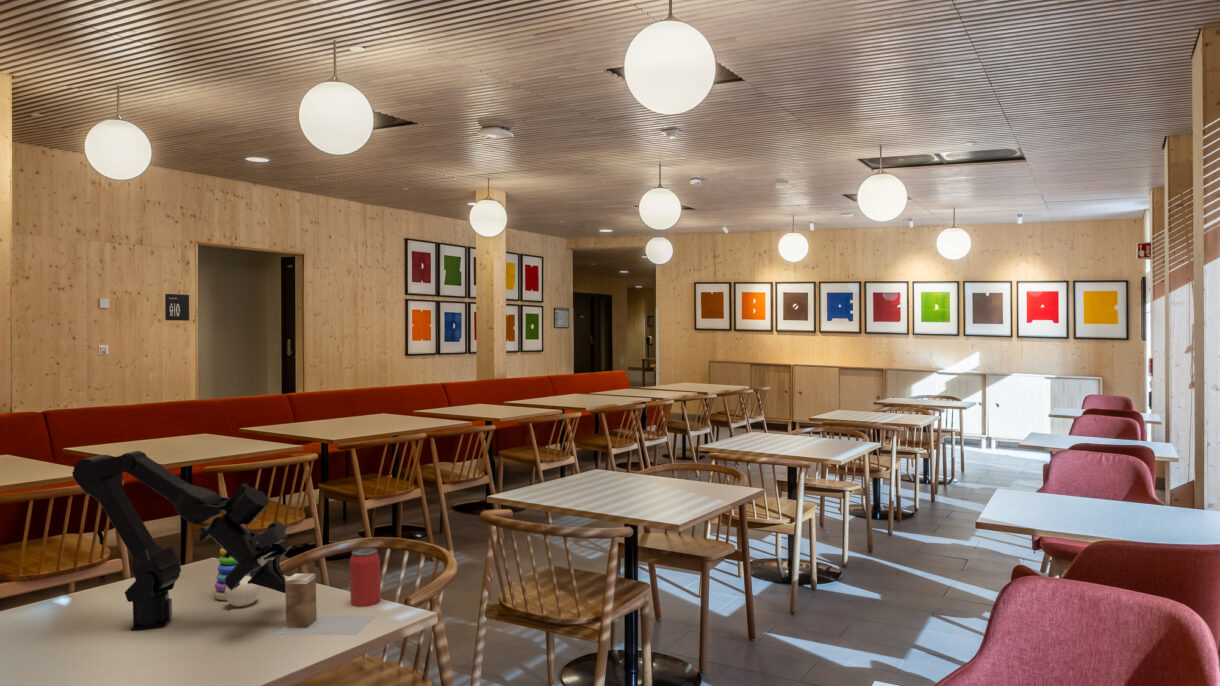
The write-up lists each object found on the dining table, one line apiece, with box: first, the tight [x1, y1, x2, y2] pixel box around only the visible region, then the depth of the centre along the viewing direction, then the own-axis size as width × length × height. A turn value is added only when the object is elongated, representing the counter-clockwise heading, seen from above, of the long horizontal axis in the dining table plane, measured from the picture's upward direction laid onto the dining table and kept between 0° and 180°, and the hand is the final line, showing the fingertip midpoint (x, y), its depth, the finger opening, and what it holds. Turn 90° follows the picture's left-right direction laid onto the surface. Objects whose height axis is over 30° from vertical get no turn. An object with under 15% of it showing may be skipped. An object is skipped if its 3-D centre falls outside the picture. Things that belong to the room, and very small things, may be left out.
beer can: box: [349, 547, 382, 608], centre depth 184 cm, size 7×7×12 cm
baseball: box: [225, 576, 260, 608], centre depth 184 cm, size 7×7×7 cm
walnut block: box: [285, 573, 318, 628], centre depth 171 cm, size 4×4×10 cm
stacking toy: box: [213, 524, 250, 601], centre depth 191 cm, size 8×8×19 cm
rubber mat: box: [275, 614, 376, 636], centre depth 170 cm, size 17×11×1 cm, turn 86°
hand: (287, 591), depth 171 cm, fingers closed
